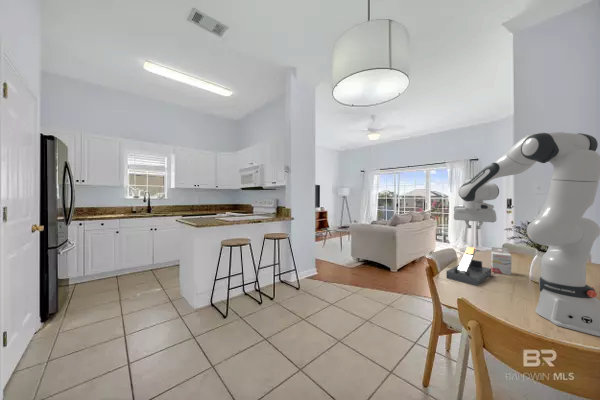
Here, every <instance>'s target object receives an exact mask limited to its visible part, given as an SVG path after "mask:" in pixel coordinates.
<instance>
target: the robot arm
mask: <svg viewBox="0 0 600 400" xmlns="http://www.w3.org/2000/svg"><path fill="white" fill-rule="evenodd" d="M598 146H599V144H598V141H597V139H596V138H595V137H594V136H592V135H591V134H586V133H582V132H581V133H579V132H578V133H573V132H572V133H571V132H564V131H563V132H562V131H561V132H557V131H555V132H540V133H539V132H538V133H530V134H528V135H526V136H524V137H522V138H521V139H520V140H518V141H517V142H516V143H515V144H514V145H512V146H511V147H510V149H508V150H507V152H505V153H504V154H503V155H502V156H501V157H499V158H498V159H497V160H495V161H493V162H492V163H490V164H488V165H487V166H485V167H484V168H482V170H481V171H479V172H478V173H477V174H476V175H475V176H473V178H471V177H470V178H469V179H466V180H465V183H463V184H462V185H461V186H460V188H459V190H458V196H459V197H460V199H461V200H463V201H464V205H463V204H462V205H459V204H458V205H455V206H453V220H455V221H464V222H465V224H466V225H467V229H472V225H470V222H478V225H476V226H475V227H476V230H481V227H482V226H483V224H484V223H495V222H497V213H496V210H495V209H494V208H495V206H494V205H493V204H491V203H487V202H484V201H492V200H495V199H497V198H498V196H499V194H500V189H499V186H498V185H497V184H496V183H492V182H491V181H494V180H495V179H497V178H502V177H508V176H509V177H510V176H515V175H518V174H522V173H524V172H525V171H528V170H529V169H530V168H532V167H533V165H534V164H536V163H537V162H538V163H541V164H547V163H551V165H552V167H553V170H552V171H553V172H552V176H551V181H550V184H549V189H548V192H547V193H548V194H547V197H546V200H545V202H544V204H543V206H542V207H541V210H540V211H539V213H538V215H537V216H536V217H535V219H534V220H532V221H531V222H529V224H528V225H527V226H526V234H527V236H528V238H529V239H530V240H531V241H532V242H533V243H535V244H537V245H541V246H546V247H547V250H546V252H545V253H544V254H543V255H542V257H541V260H540V262H541V263H540V267H541V269H540V272H541V273H540V277H539V279H538V280H539V282H538V286H539V287H538V288H539V291H540V293H539V299H538V302H537V306H536V308H535V313H537V315H539V316H540V317H542V318H544V319H546V320H548V321H550V322H551V323H552V324H554V325H556V326H557V327H561V328H565V329H570V330H573V331H577V332H581V333H583V334H584V333H585V334H588V335H593V336H597V337H600V299H598V298H597V296H598V294H597V292H596V289H595V287H593V286H592V287H591V286H590V285H588V284H587V264H588V260H589V256H590V254H591V252H592V251H591V250H592V248H593V245H594V243H595V241H596V240H597V239H598V237H599V236H600V226H599V224H597V223H596V222H595V220H592V219H590V218H587V217H583V216H584V214H585V213H586V212H587V211H588V209H589V208H591V206H593V204H594V203H595V198H596V194H597V190H598V187H599V182H600V154H599V152H597V149H598Z"/></svg>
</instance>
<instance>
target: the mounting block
mask: <svg viewBox="0 0 600 400" xmlns="http://www.w3.org/2000/svg"><path fill="white" fill-rule="evenodd" d="M459 265H460V264H458V265H456V266H454V267H452V268H450V269H448V270H446V279H449V280H452V281H456V282H461V283H465V284H468V285H471V286H476V287H477V286H478V285H480V284H481V283H483V282H484V281H485V280H487V279H489V278H491V276H492V271H491V267H484V266H483V261H482V260H476V259H472V262H471V264H470V266H469V269H468V271H466V274H462V273H458V272H457V269H458V267H459ZM488 277H489V278H488Z"/></svg>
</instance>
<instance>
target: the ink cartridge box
mask: <svg viewBox="0 0 600 400" xmlns="http://www.w3.org/2000/svg"><path fill="white" fill-rule="evenodd" d="M490 255H491V256H490V259H491V260H490V264H491V265H490V268H491V270H492V271H491V273H493V272H495V273H494V274H500V273H503V275H510V276H512V254H511V253H510V249H509V248H508V247H507V248H506V247H495V246H492V247H491V253H490Z"/></svg>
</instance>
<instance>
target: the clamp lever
mask: <svg viewBox="0 0 600 400" xmlns="http://www.w3.org/2000/svg"><path fill="white" fill-rule="evenodd" d="M476 252H477V248H476V247H472V246H467V247H466V249H465V252H464V254H463V256H462V259H461V260H460V262H459V264H458V265H459V267H458V269H457V272H458V273H462V274H466V271H468V269H469V266H470V264H471V262H472V260H474V257H475V254H476Z"/></svg>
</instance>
